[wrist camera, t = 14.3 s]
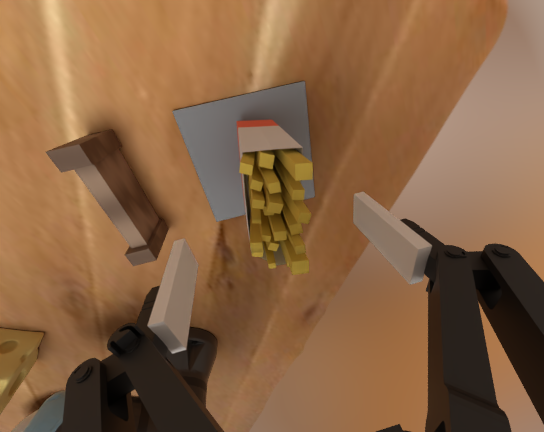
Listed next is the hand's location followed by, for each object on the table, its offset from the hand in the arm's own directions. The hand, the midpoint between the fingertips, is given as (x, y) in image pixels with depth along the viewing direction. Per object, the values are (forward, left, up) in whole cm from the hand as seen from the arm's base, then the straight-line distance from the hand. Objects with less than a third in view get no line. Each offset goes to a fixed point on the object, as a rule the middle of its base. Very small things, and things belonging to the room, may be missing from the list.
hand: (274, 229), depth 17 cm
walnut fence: (0, +17, -17) cm, 24 cm away
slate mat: (0, 0, -17) cm, 17 cm away
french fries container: (0, 0, -16) cm, 16 cm away
